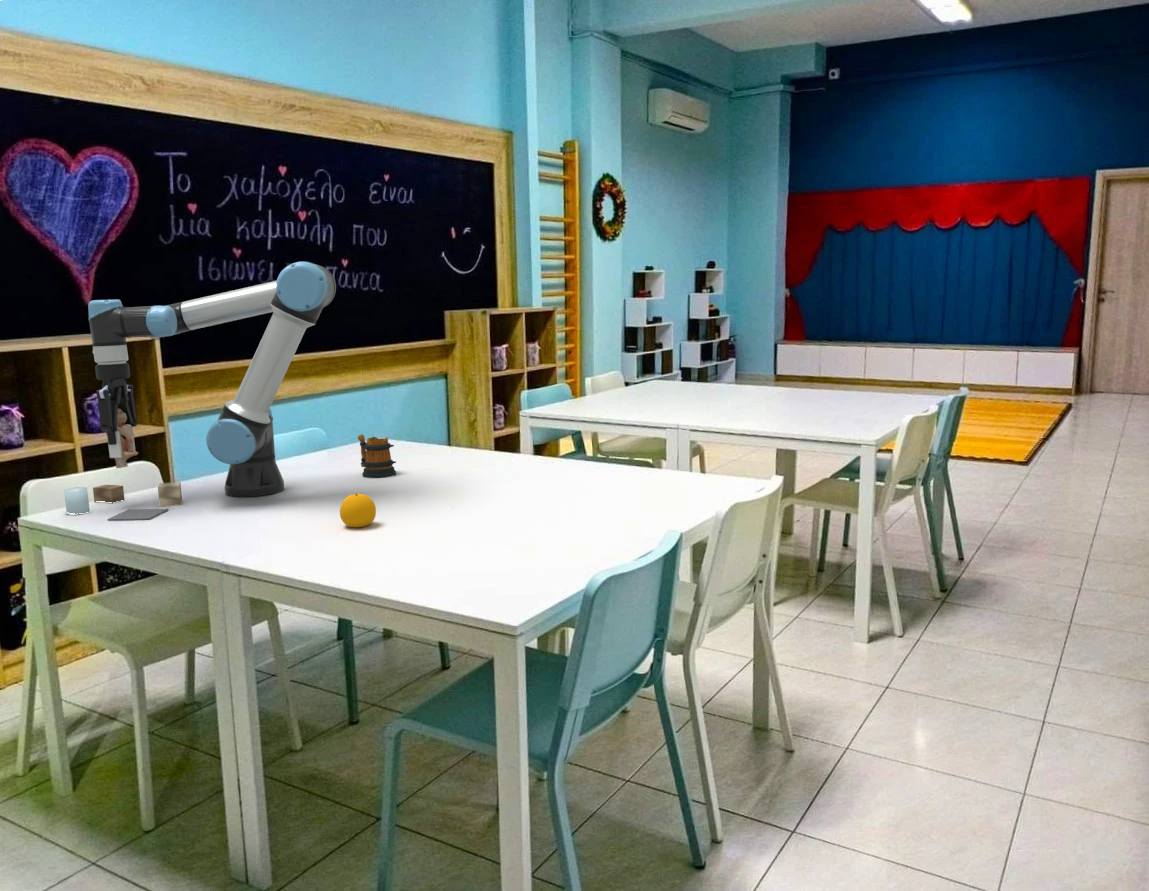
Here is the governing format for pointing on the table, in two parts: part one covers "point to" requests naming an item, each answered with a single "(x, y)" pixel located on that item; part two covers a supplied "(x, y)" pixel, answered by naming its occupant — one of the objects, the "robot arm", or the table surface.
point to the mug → (376, 457)
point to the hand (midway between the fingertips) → (123, 454)
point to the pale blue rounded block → (77, 500)
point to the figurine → (124, 440)
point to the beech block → (170, 494)
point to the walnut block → (108, 493)
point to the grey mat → (137, 514)
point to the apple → (357, 510)
